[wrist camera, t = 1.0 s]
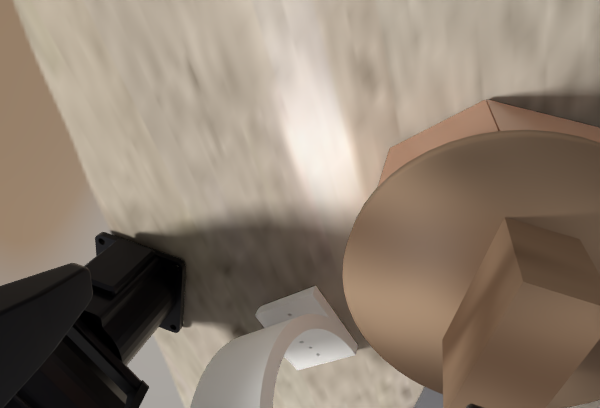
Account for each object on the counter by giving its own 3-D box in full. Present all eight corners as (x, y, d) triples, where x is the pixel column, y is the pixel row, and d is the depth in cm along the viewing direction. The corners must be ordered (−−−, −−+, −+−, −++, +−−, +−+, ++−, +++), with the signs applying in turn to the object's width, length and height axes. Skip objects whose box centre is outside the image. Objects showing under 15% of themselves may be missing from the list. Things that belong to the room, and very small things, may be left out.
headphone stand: (300, 361, 29) (223, 570, 18) (250, 294, 27) (135, 481, 17) (358, 345, 26) (307, 573, 16) (307, 271, 25) (215, 471, 15)
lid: (583, 431, 18) (622, 547, 14) (320, 335, 20) (293, 416, 16) (798, 192, 12) (961, 284, 8) (392, 88, 14) (376, 126, 10)
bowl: (551, 336, 22) (577, 419, 18) (351, 270, 24) (332, 332, 20) (682, 146, 17) (766, 201, 12) (411, 79, 18) (402, 107, 14)
